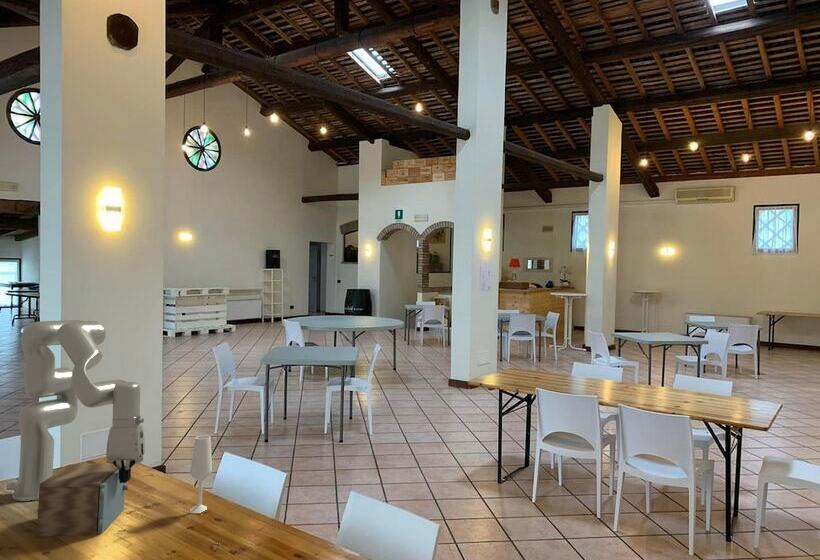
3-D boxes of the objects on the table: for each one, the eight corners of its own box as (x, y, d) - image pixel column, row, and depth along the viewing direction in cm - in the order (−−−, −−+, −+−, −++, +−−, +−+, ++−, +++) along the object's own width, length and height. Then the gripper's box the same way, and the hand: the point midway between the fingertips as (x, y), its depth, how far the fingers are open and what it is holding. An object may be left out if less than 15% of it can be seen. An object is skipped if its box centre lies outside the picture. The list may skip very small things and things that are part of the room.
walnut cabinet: (36, 536, 151) (39, 484, 152) (66, 511, 168) (68, 464, 169) (96, 535, 154) (98, 483, 154) (119, 510, 170) (122, 464, 171)
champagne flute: (185, 509, 173) (189, 436, 174) (206, 504, 178) (209, 433, 178) (192, 516, 168) (196, 441, 169) (213, 511, 173) (216, 438, 173)
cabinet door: (96, 534, 153) (99, 485, 154) (119, 509, 170) (122, 466, 171) (105, 533, 154) (108, 485, 154) (127, 509, 171) (130, 465, 171)
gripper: (155, 419, 169) (154, 477, 168) (107, 419, 168) (105, 478, 167) (145, 425, 162) (143, 485, 161) (95, 425, 161) (93, 486, 160)
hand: (124, 481), depth 164 cm, fingers closed
